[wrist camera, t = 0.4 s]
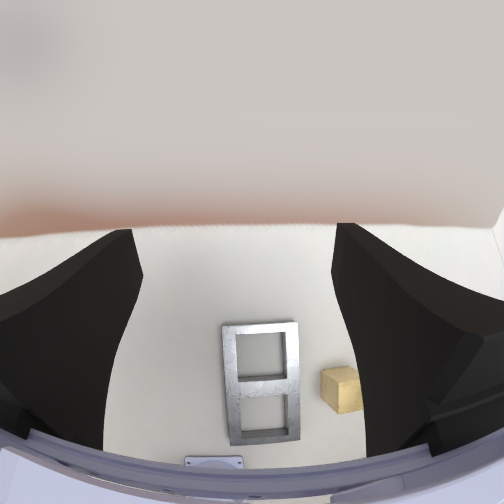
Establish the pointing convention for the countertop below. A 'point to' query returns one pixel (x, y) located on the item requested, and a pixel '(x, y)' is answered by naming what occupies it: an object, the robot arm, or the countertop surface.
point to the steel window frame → (263, 384)
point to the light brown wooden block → (341, 389)
